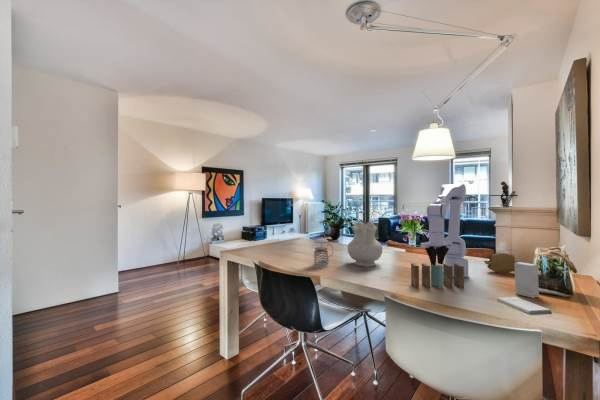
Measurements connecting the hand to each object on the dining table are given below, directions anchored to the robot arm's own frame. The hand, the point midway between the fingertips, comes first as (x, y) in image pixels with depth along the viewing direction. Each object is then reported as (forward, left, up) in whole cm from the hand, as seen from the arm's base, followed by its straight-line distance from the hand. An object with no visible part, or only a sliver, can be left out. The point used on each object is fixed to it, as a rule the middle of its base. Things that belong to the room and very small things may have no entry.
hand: (436, 264), depth 119 cm
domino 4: (-4, 0, -9) cm, 10 cm away
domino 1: (+9, 0, -9) cm, 13 cm away
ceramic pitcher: (+24, -38, -9) cm, 46 cm away
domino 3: (0, 0, -9) cm, 9 cm away
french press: (+48, -34, -9) cm, 60 cm away
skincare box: (-29, +10, -9) cm, 32 cm away
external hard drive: (-20, +21, -10) cm, 31 cm away
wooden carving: (-41, -24, -10) cm, 49 cm away
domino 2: (+5, 0, -9) cm, 10 cm away
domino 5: (-9, 0, -9) cm, 13 cm away
